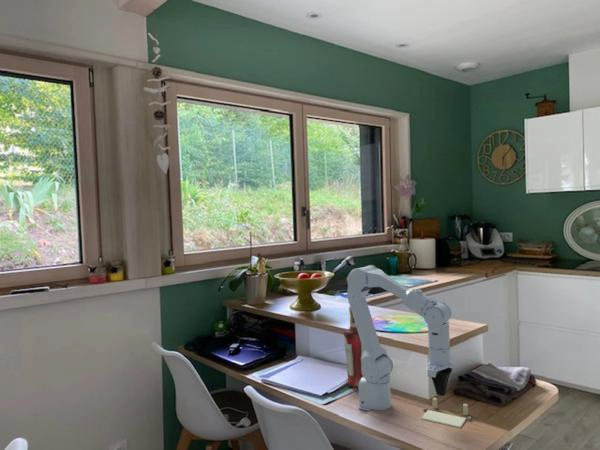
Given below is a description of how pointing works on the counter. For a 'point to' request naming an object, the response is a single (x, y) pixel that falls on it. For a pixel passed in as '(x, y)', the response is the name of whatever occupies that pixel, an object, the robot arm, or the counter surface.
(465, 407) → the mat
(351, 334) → the liquor
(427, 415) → the tile
